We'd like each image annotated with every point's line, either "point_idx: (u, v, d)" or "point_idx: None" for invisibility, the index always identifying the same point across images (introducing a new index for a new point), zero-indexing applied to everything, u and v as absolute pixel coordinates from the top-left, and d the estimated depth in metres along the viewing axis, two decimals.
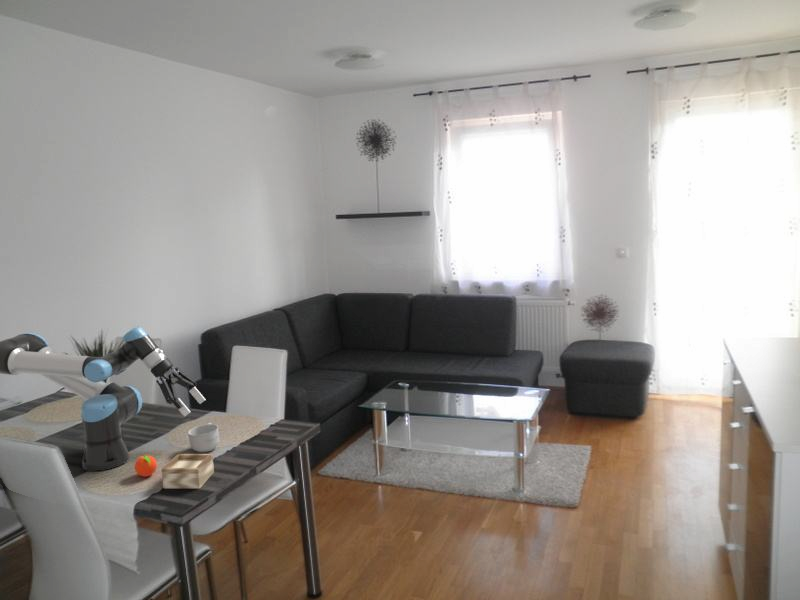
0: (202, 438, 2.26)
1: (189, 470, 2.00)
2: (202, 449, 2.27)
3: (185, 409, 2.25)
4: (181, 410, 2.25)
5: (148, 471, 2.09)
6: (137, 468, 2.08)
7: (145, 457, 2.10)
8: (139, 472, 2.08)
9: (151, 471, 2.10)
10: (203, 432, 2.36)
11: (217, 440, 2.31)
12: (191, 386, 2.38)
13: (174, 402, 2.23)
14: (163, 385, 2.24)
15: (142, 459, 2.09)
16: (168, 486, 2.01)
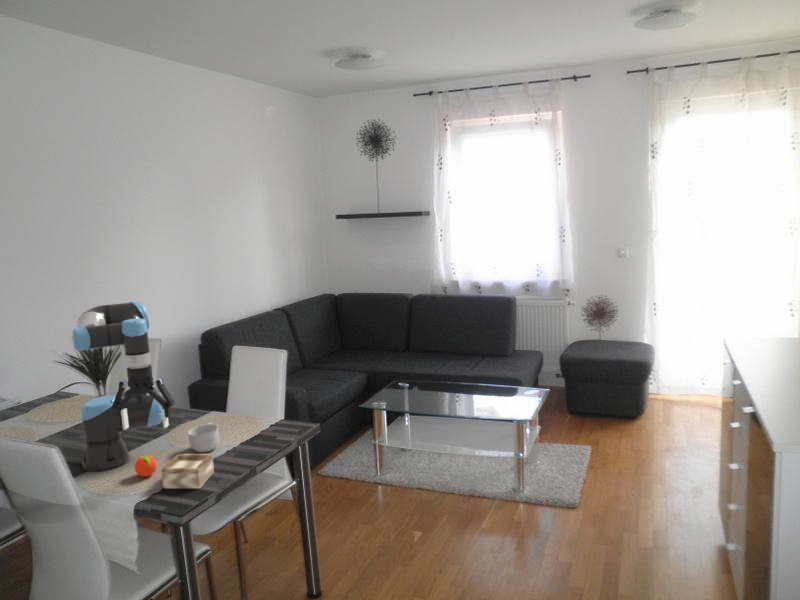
0: (202, 438, 2.26)
1: (189, 470, 2.00)
2: (202, 449, 2.27)
3: None
4: None
5: (148, 471, 2.09)
6: (137, 468, 2.08)
7: (145, 457, 2.10)
8: (139, 472, 2.08)
9: (151, 471, 2.10)
10: (203, 432, 2.36)
11: (217, 440, 2.31)
12: None
13: None
14: None
15: (142, 459, 2.09)
16: (168, 486, 2.01)
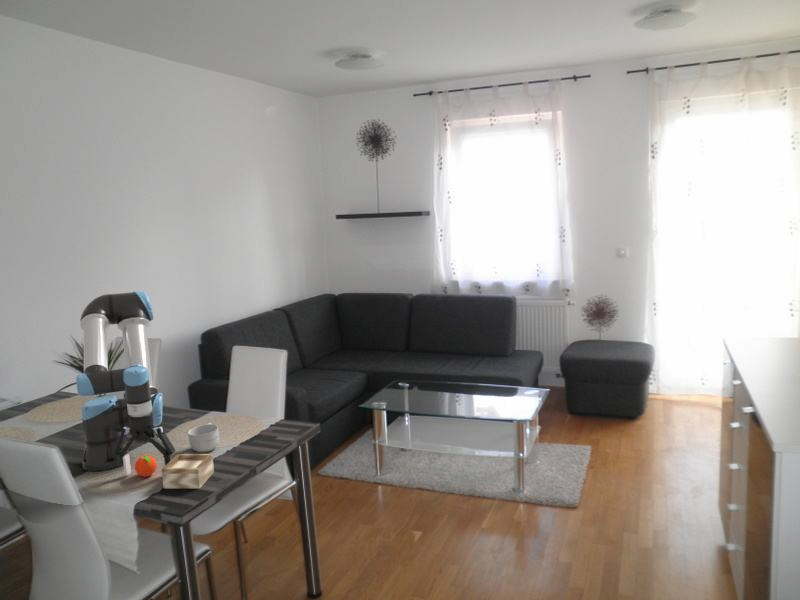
0: (202, 438, 2.26)
1: (189, 470, 2.00)
2: (202, 449, 2.27)
3: None
4: None
5: (148, 471, 2.09)
6: (137, 468, 2.08)
7: (145, 457, 2.10)
8: (139, 472, 2.08)
9: (151, 471, 2.10)
10: (203, 432, 2.36)
11: (217, 440, 2.31)
12: None
13: None
14: None
15: (142, 459, 2.09)
16: (168, 486, 2.01)
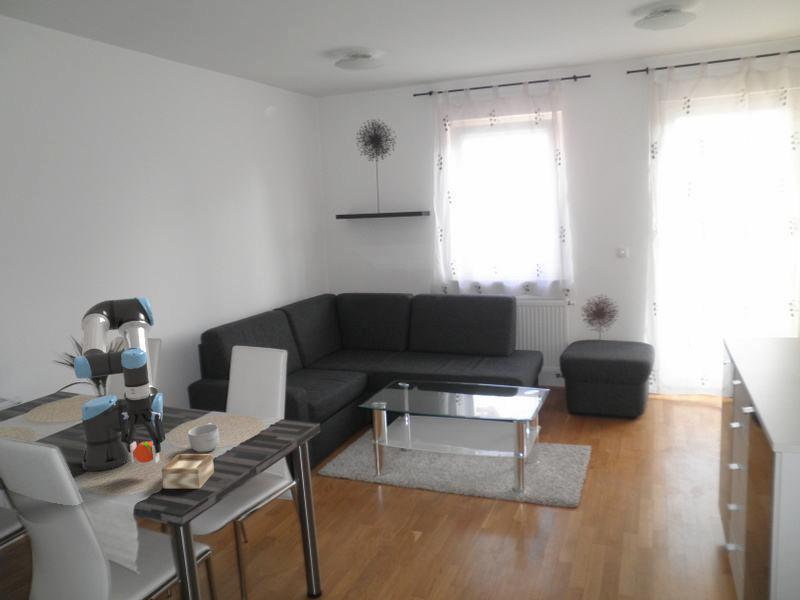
0: (202, 438, 2.26)
1: (189, 470, 2.00)
2: (202, 449, 2.27)
3: None
4: None
5: (148, 457, 2.08)
6: (137, 454, 2.08)
7: (145, 443, 2.10)
8: (139, 458, 2.08)
9: (151, 457, 2.09)
10: (203, 432, 2.36)
11: (217, 440, 2.31)
12: None
13: None
14: None
15: (142, 445, 2.09)
16: (168, 486, 2.01)
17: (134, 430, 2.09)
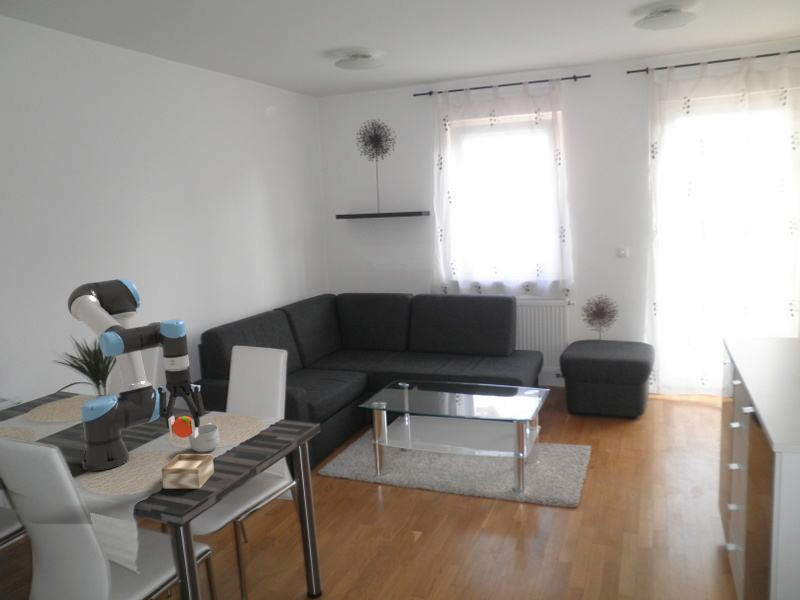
0: (202, 438, 2.26)
1: (189, 470, 2.00)
2: (202, 449, 2.27)
3: None
4: None
5: (187, 431, 2.02)
6: (175, 428, 2.01)
7: (183, 417, 2.03)
8: (177, 432, 2.01)
9: (190, 432, 2.02)
10: (203, 432, 2.36)
11: (217, 440, 2.31)
12: None
13: None
14: None
15: (180, 419, 2.02)
16: (168, 486, 2.01)
17: (172, 404, 2.03)
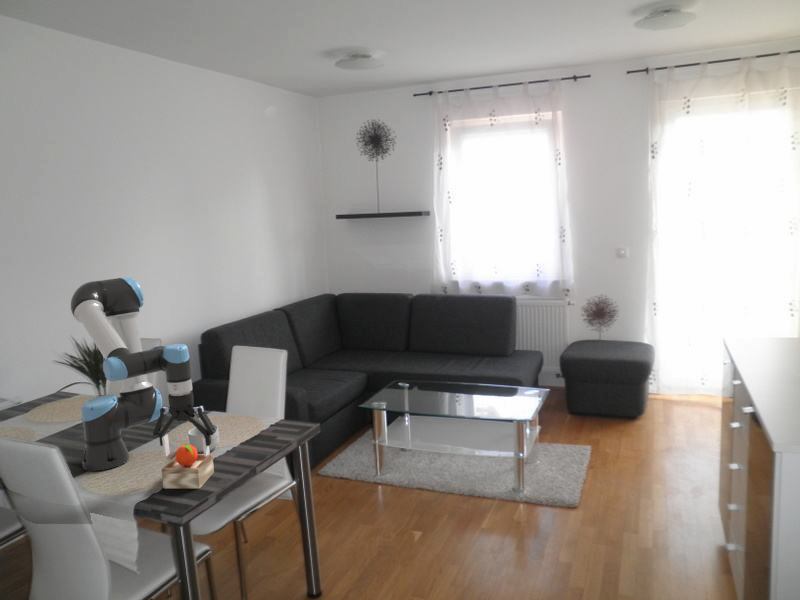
0: None
1: (189, 470, 2.00)
2: (202, 449, 2.27)
3: None
4: None
5: (190, 460, 2.03)
6: (179, 457, 2.03)
7: (186, 446, 2.05)
8: (180, 461, 2.03)
9: (192, 460, 2.04)
10: None
11: (217, 440, 2.31)
12: None
13: None
14: None
15: (183, 448, 2.04)
16: (168, 486, 2.01)
17: (170, 425, 2.04)
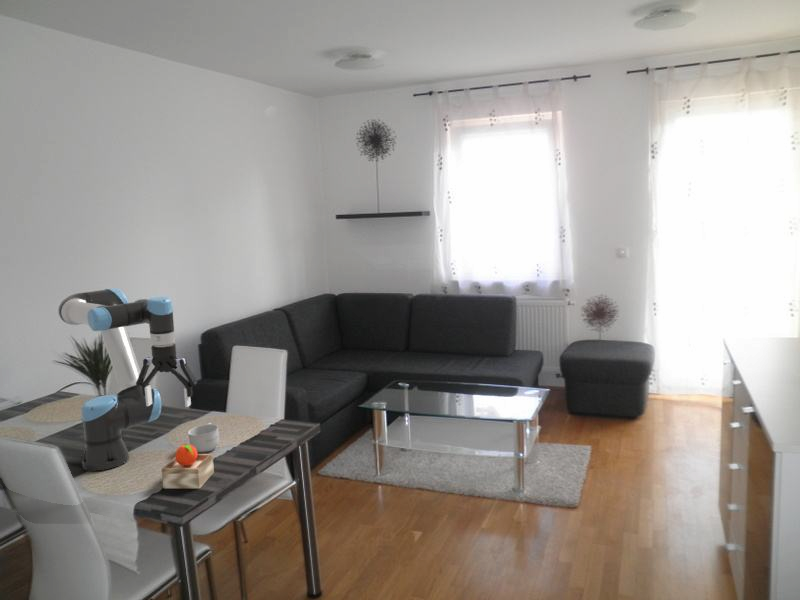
0: (202, 438, 2.26)
1: (189, 470, 2.00)
2: (202, 449, 2.27)
3: None
4: None
5: (190, 460, 2.03)
6: (179, 457, 2.03)
7: (186, 446, 2.05)
8: (180, 461, 2.03)
9: (192, 460, 2.04)
10: (203, 432, 2.36)
11: (217, 440, 2.31)
12: None
13: None
14: None
15: (183, 448, 2.04)
16: (168, 486, 2.01)
17: (153, 376, 2.10)
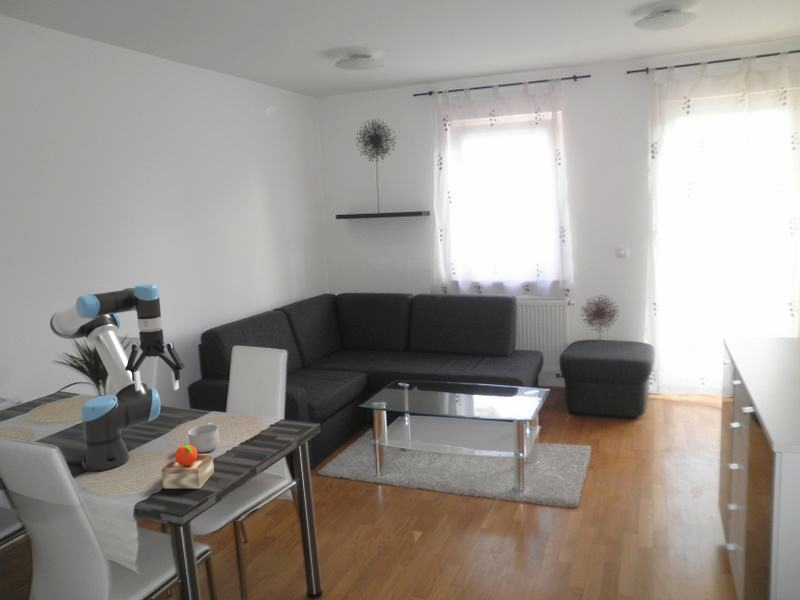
0: (202, 438, 2.26)
1: (189, 470, 2.00)
2: (202, 449, 2.27)
3: None
4: None
5: (190, 460, 2.03)
6: (179, 457, 2.03)
7: (186, 446, 2.05)
8: (180, 461, 2.03)
9: (193, 460, 2.04)
10: (203, 432, 2.36)
11: (217, 440, 2.31)
12: None
13: None
14: None
15: (183, 448, 2.04)
16: (168, 486, 2.01)
17: (141, 361, 2.16)
